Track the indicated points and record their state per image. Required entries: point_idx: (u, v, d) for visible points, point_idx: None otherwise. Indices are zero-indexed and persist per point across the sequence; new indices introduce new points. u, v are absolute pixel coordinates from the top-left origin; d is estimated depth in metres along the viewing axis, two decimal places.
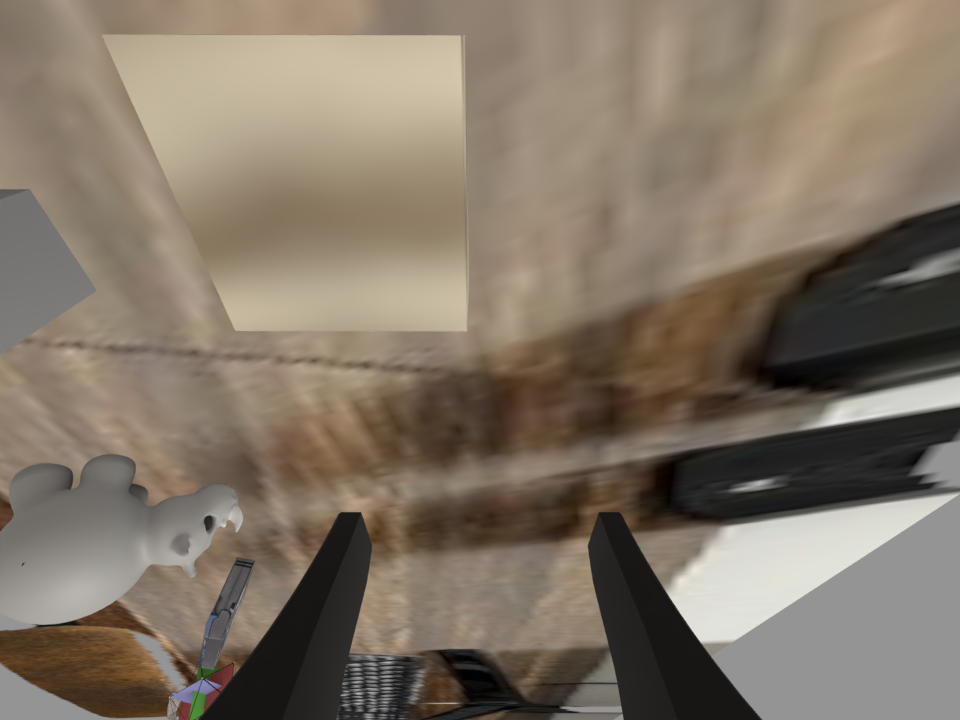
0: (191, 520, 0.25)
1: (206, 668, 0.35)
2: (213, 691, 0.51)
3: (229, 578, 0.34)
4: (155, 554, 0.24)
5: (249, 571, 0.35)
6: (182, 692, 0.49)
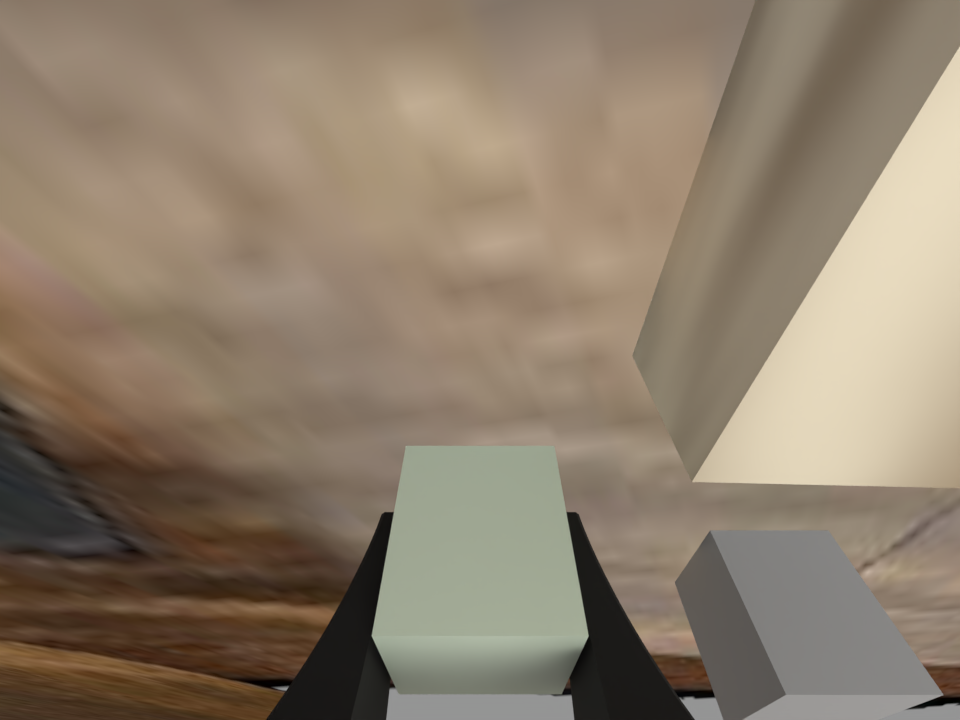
0: None
1: None
2: None
3: None
4: None
5: None
6: None
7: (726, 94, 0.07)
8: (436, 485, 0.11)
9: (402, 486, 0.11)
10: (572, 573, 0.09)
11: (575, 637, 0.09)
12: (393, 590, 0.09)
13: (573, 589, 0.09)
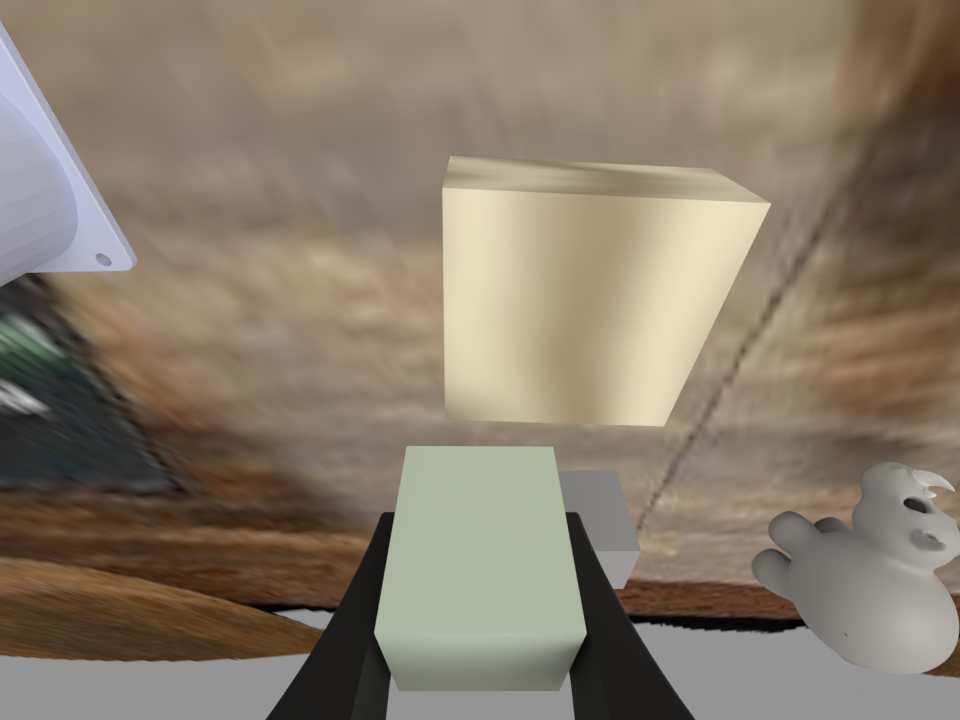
0: (897, 516, 0.22)
1: None
2: None
3: None
4: (920, 563, 0.21)
5: None
6: None
7: None
8: (436, 485, 0.11)
9: (403, 486, 0.11)
10: (571, 572, 0.10)
11: (573, 634, 0.09)
12: (395, 588, 0.09)
13: (571, 587, 0.09)
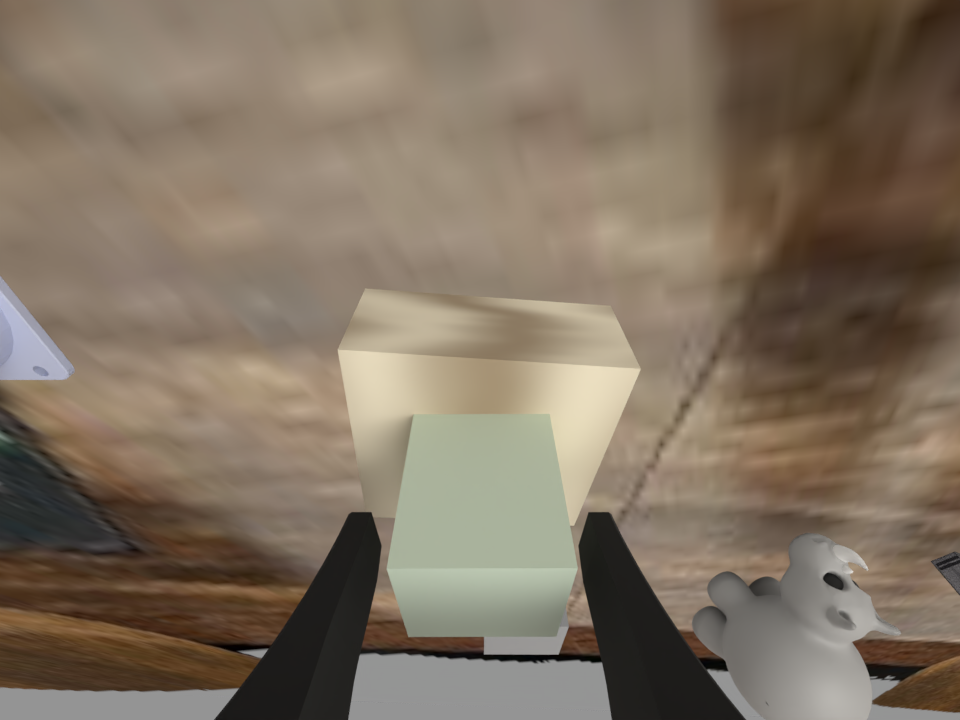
0: (816, 592, 0.23)
1: None
2: None
3: (956, 587, 0.26)
4: (835, 637, 0.22)
5: None
6: None
7: None
8: (441, 447, 0.12)
9: (411, 447, 0.12)
10: (564, 518, 0.11)
11: (566, 569, 0.10)
12: (404, 532, 0.10)
13: (565, 531, 0.10)
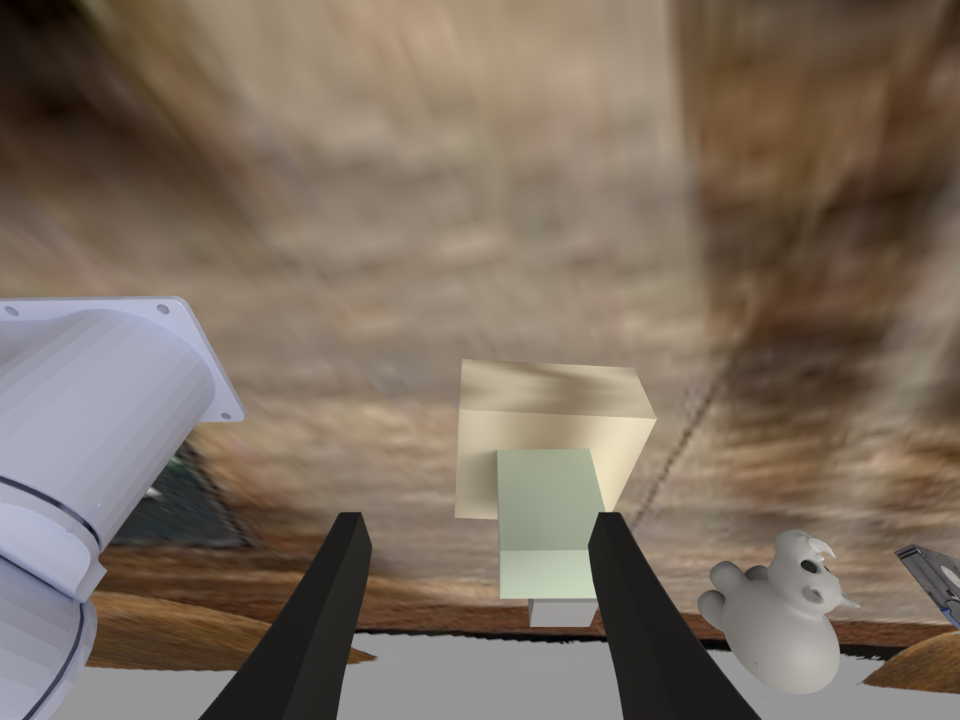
0: (794, 575, 0.29)
1: None
2: None
3: (913, 572, 0.32)
4: (810, 611, 0.28)
5: (921, 555, 0.32)
6: None
7: None
8: (520, 473, 0.19)
9: (500, 474, 0.19)
10: None
11: None
12: (507, 529, 0.17)
13: None
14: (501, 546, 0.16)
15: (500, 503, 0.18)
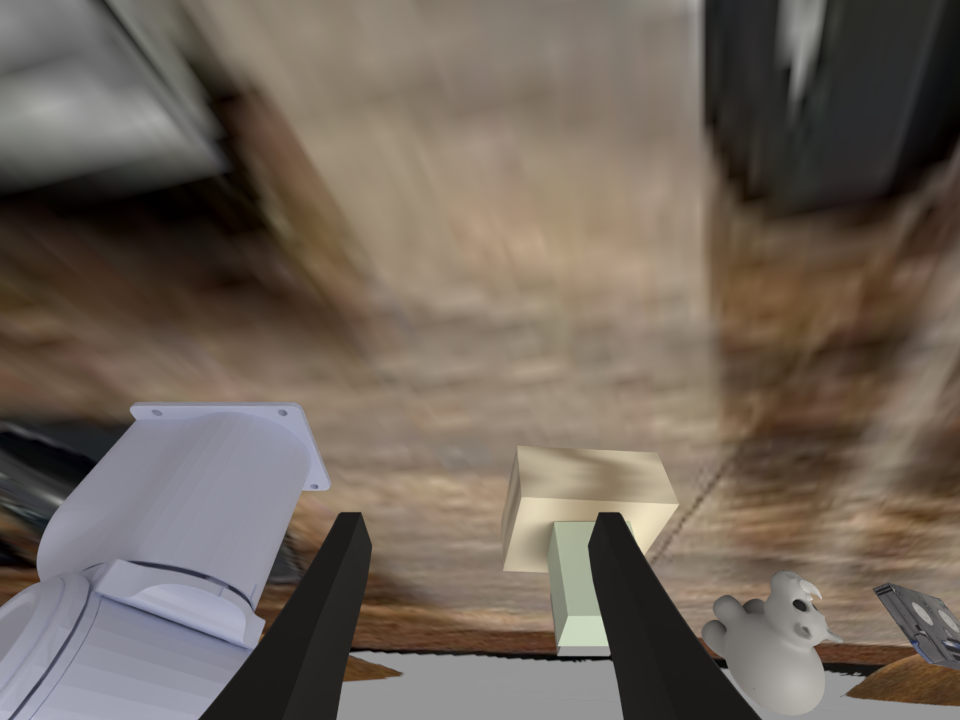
0: (787, 613, 0.34)
1: None
2: None
3: (888, 608, 0.37)
4: (800, 644, 0.33)
5: (895, 593, 0.37)
6: None
7: (510, 479, 0.28)
8: (575, 544, 0.23)
9: (559, 545, 0.23)
10: None
11: None
12: (571, 596, 0.21)
13: None
14: (568, 612, 0.20)
15: (563, 572, 0.22)
